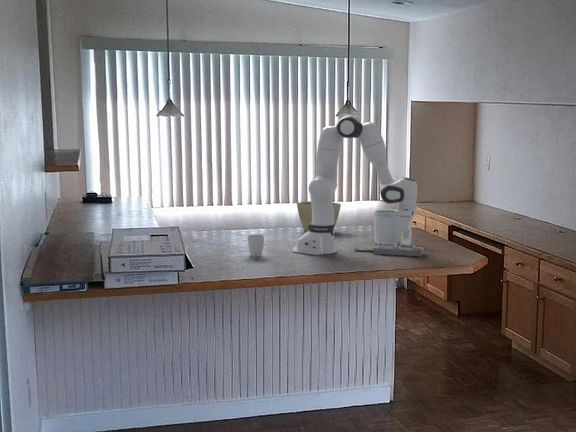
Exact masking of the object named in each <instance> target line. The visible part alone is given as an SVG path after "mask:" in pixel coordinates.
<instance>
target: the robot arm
mask: <svg viewBox="0 0 576 432" xmlns="http://www.w3.org/2000/svg"><path fill="white" fill-rule="evenodd" d="M344 138H345V139H353V138H354V139H358V141H359V143H360V146H361V148H362V151H363V153H364V155H365V157H366V158H367V161H368V162H369V163H370V164H371V165H372V167H374V169H375V172H376V174H377V177H378V181H379V183H380V188H379V192H380V198H381V200H382V201H383V202H385V203H386V204H389V205H390V204H398V210H399V211H398V213H399V216H400V232H401V231H402V232H403V238H404V239H407V233H408V230H409V229H410V228H412V227H413V223H414V222H413V220H414V217H415V215H417V208H418V205H417V198H418V183H417V181H416V180H415V179H414V178H410V177H405V176H404V177H401V178H400V179H398V180H396V181H395V180H394V179H393V178H392V174H391V172H390V169H389V166H388V164H387V163H388V162H387V157H388V156H387V149H386V148H387V147H386V144H385V140H384V138H383V135H382V133H381V132H380V130H379V127H378V126H377V124H376V123H375V122H371V121H370V122H369V121H368V122H367V121H366V122H363V123H362V122H361V121H360V119H359V118H358V117H357V116H356V115H354V114H345V115H343V116H342V117H340V118H339V120H338V122H337V123H336V125H327V126H325V127H323V128H322V130H321V132H320V135H319V139H318V144H317V151H316V157H315V166H316V168H315V169H316V170H315V172H316V176H315V178H313V179H312V180H311V181H310V183H309V185H308V193H309V197H310V201H311V204H312V223H310V224H309V225H308V230H309V231H305V232H304V233H303V234H302V235H300V237H298V238H297V243H296V246H294V247H293V248H292V250H291V251H292V253H296V254H297V253H299V254H307V255H314V256H315V255H317V256H321V255H330V254H335V253H336V252H337V249H336V243H335V233H336V231H335V230H336V229H335V228H336V226H335V227H334V208H333V204H332V202H333V198H332V195H333V194H334V193H335V192H336V190H337V188H338V163H339V157H340V150H341V149H340V148H341V143H342V141H343V139H344Z"/></svg>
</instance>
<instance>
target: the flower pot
mask: <svg viewBox="0 0 576 432" xmlns="http://www.w3.org/2000/svg"><path fill="white" fill-rule="evenodd" d="M332 204H333V208H334V227H335V228H336V224H337V222H338V218H339V215H340V210H341V205H342V204H341V203H338V202H333V201H332ZM296 207H297V213H298V217H299V220H300V221H299V222H300V225H301V227H302V229H303V231H304V232H308V231H309V230H308V225H309V224H310V223H312V204H311V200H310V201H300V202H296Z"/></svg>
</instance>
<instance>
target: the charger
mask: <svg viewBox="0 0 576 432" xmlns="http://www.w3.org/2000/svg"><path fill="white" fill-rule="evenodd" d="M412 228H413V227H411V228H410V229H409V230H408V233H407V239H404V238H403V232H402V231H401V230H400V244H402V245H412Z"/></svg>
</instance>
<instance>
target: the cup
mask: <svg viewBox="0 0 576 432" xmlns="http://www.w3.org/2000/svg"><path fill="white" fill-rule="evenodd" d="M264 243H265V235H263V234H249V235H247V245H248V250H249V251H248V252H249V254H250V257H253V258H260V257H262V254H263V250H264Z"/></svg>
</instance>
